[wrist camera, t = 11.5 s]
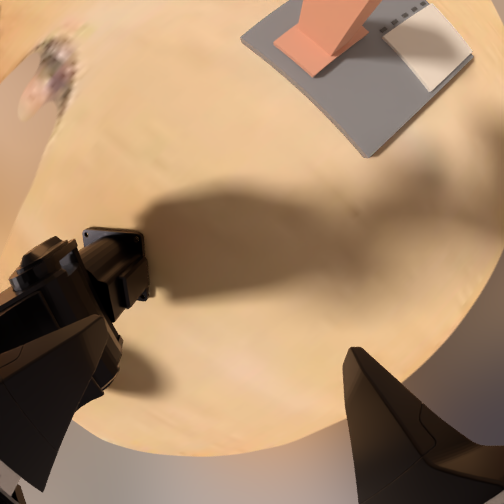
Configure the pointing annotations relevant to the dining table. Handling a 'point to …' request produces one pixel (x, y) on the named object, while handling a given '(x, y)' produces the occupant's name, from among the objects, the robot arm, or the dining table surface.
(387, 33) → the ticket board
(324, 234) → the dining table surface
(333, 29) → the stub
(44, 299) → the robot arm
